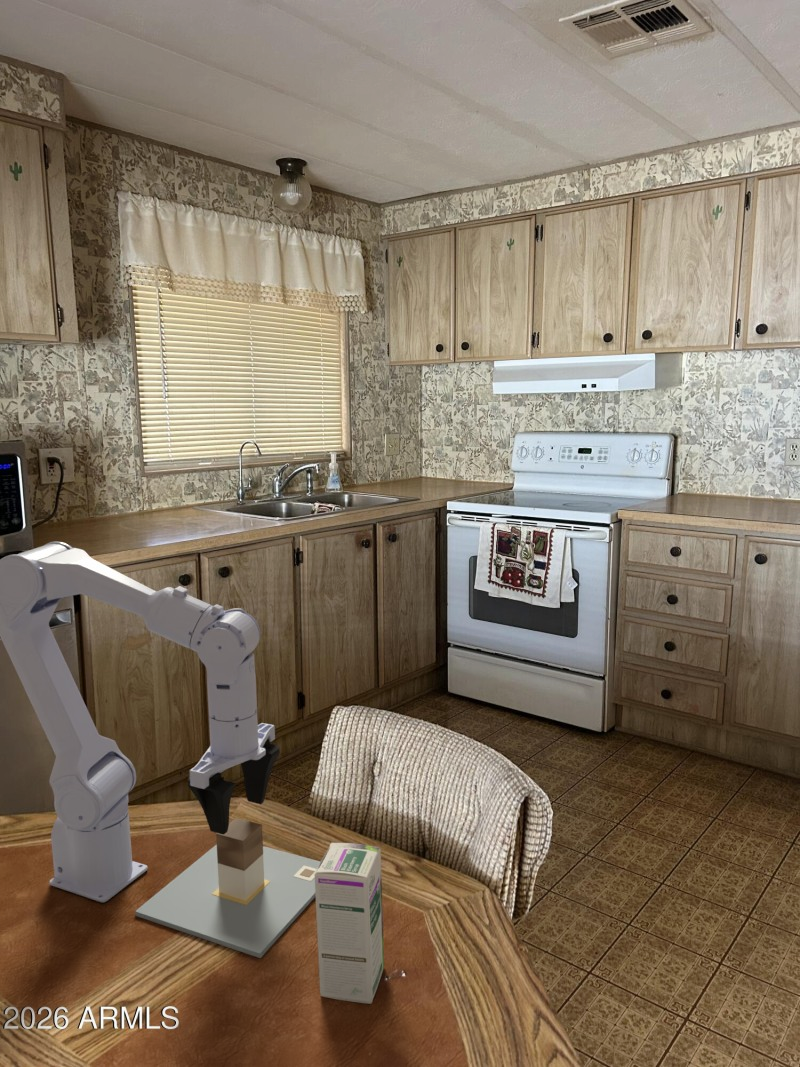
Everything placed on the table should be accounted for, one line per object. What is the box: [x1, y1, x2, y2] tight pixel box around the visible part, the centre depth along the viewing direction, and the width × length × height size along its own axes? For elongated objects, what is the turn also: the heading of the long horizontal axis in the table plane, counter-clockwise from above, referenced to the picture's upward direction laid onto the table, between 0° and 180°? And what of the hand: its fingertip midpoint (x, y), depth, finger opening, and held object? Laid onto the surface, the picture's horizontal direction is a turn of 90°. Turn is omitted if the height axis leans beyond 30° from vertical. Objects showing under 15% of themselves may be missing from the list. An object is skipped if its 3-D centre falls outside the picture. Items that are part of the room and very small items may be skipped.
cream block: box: [218, 855, 264, 901], centre depth 100 cm, size 4×4×4 cm
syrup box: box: [314, 842, 385, 1005], centre depth 84 cm, size 6×6×14 cm
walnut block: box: [215, 817, 264, 871], centre depth 99 cm, size 4×4×4 cm
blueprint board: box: [134, 843, 321, 959], centre depth 100 cm, size 18×18×1 cm
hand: (237, 816), depth 98 cm, fingers open, 7 cm apart
